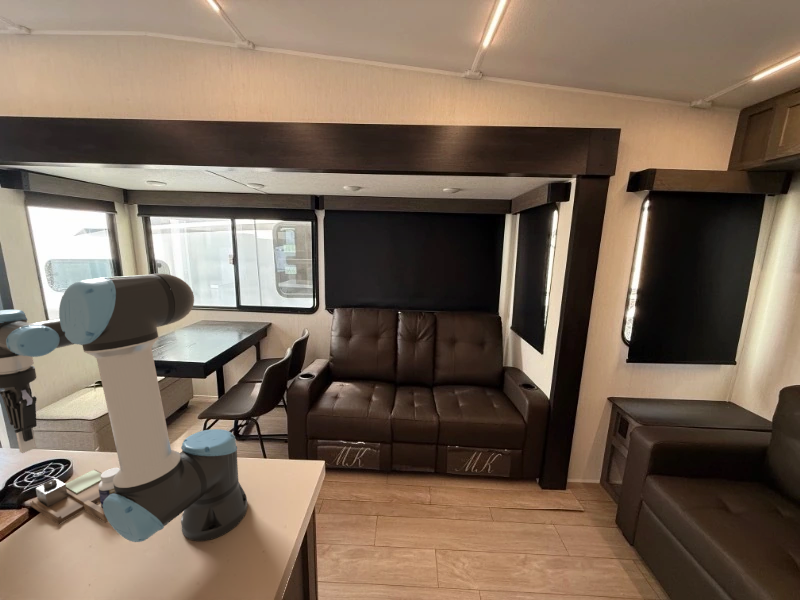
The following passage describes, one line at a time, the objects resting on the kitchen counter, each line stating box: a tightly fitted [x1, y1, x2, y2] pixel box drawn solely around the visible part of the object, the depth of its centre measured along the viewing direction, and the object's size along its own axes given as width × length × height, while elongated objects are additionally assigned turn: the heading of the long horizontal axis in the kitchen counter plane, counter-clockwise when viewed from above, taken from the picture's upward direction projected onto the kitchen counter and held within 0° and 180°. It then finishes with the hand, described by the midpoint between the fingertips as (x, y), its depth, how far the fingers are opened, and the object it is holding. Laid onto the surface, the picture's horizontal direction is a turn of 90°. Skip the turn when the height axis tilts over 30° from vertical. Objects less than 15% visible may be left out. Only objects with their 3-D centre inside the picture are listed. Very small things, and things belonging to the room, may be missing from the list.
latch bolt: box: [35, 478, 68, 507], centre depth 88 cm, size 5×4×5 cm
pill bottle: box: [98, 467, 121, 508], centre depth 88 cm, size 5×5×10 cm
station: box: [29, 468, 108, 525], centre depth 89 cm, size 24×14×2 cm, turn 68°
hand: (28, 449), depth 89 cm, fingers closed
